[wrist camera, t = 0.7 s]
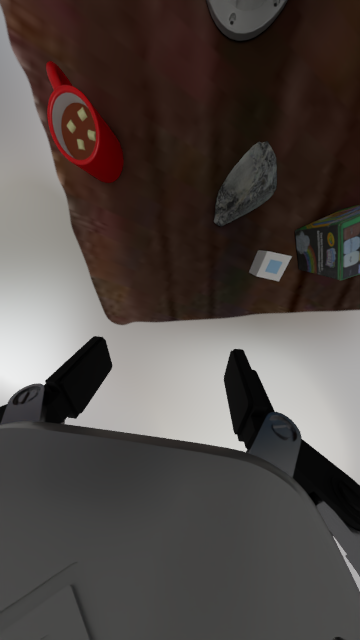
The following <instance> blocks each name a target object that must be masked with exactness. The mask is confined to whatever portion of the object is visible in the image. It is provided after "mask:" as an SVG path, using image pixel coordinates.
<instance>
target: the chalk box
mask: <svg viewBox="0 0 360 640" xmlns="http://www.w3.org/2000/svg"><path fill="white" fill-rule="evenodd" d="M295 237H296V248H297V255H298V265H299V270H303V271H307V272H311V273H315V274H318V275H323V276H327V277H331V278H334V279H338V280H344V279H347V278H349V277H352V276H356V275H358V274H360V205H357V206H353V207H349V208H345V209H342V210H340V211H338V212H335V213H333V214H331V215H329V216H326V217H324V218H322V219H319V220H317V221H315V222H313V223H311V224H308V225H306V226H304V227H302V228H299V229H297V230H296V231H295Z"/></svg>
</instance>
